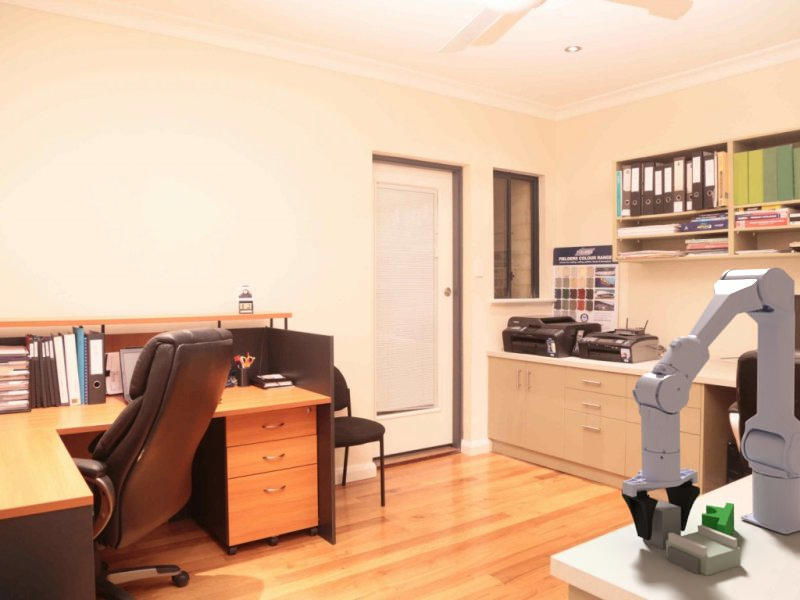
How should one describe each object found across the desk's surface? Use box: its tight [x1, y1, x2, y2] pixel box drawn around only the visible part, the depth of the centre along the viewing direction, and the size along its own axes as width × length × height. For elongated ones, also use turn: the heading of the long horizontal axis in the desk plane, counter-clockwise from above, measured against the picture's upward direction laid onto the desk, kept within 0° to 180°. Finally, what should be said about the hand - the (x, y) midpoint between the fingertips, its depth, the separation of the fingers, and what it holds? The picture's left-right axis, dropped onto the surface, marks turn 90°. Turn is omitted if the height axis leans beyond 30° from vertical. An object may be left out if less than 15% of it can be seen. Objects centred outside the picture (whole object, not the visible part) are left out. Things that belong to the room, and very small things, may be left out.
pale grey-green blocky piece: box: [665, 524, 742, 577], centre depth 91 cm, size 8×7×4 cm
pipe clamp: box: [701, 502, 735, 537], centre depth 99 cm, size 11×4×5 cm, turn 145°
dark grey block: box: [642, 499, 682, 551], centre depth 98 cm, size 4×5×6 cm
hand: (661, 533), depth 98 cm, fingers open, 7 cm apart
